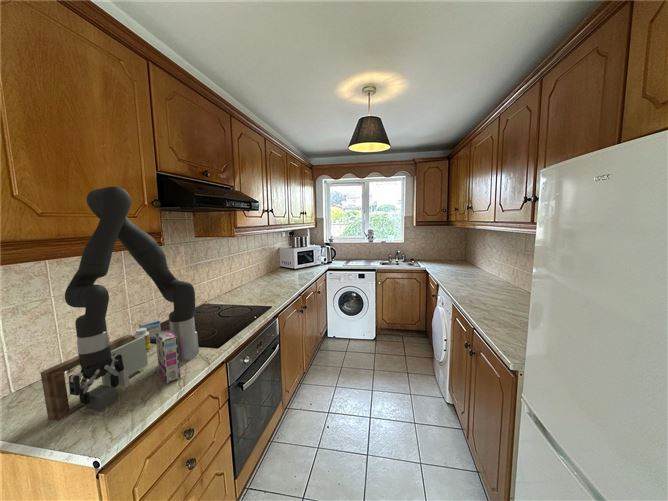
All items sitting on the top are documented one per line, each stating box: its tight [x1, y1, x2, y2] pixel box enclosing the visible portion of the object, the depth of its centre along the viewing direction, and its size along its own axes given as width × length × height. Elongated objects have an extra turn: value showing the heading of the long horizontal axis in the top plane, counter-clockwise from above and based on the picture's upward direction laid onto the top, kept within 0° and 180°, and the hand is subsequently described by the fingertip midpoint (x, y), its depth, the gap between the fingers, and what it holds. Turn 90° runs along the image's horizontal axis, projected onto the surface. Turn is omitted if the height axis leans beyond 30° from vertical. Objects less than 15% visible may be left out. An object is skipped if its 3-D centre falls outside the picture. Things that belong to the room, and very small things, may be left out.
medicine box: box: [138, 318, 162, 342], centre depth 135 cm, size 8×4×9 cm, turn 143°
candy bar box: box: [155, 328, 181, 384], centre depth 102 cm, size 11×5×16 cm, turn 45°
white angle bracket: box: [101, 336, 149, 388], centre depth 100 cm, size 16×8×12 cm, turn 165°
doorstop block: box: [85, 384, 118, 413], centre depth 87 cm, size 5×6×5 cm
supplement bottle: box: [133, 328, 152, 352], centre depth 122 cm, size 6×6×10 cm
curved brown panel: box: [40, 334, 141, 422], centre depth 92 cm, size 26×4×15 cm, turn 165°
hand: (101, 394), depth 87 cm, fingers open, 8 cm apart
